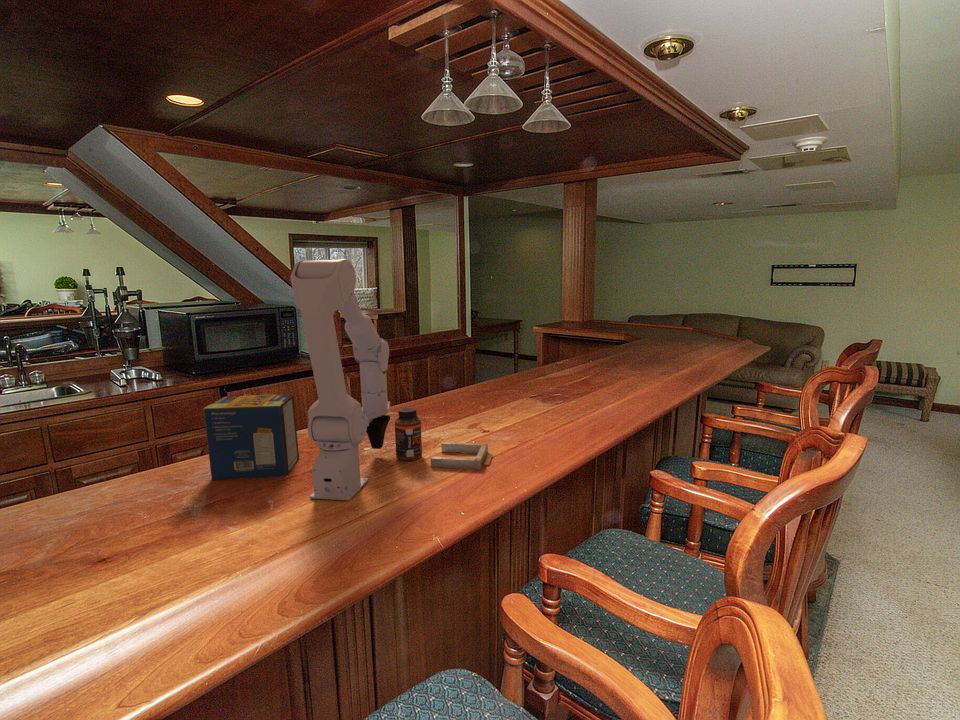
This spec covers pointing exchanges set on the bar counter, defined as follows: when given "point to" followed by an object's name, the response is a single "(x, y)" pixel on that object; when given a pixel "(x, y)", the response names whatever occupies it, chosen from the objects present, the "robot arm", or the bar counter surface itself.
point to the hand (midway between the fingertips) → (377, 447)
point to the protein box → (251, 436)
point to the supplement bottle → (408, 435)
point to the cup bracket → (462, 462)
